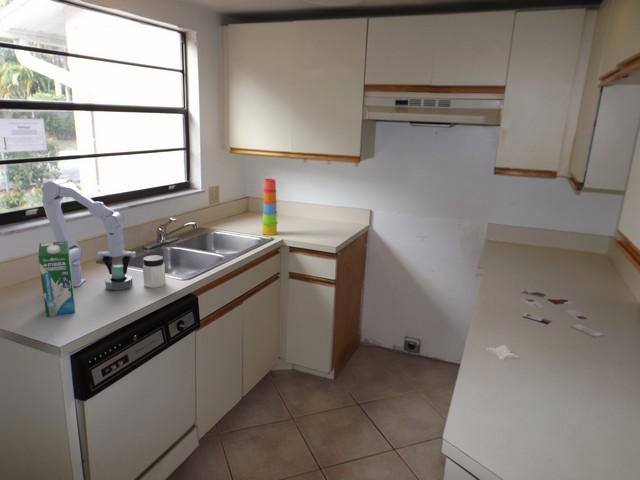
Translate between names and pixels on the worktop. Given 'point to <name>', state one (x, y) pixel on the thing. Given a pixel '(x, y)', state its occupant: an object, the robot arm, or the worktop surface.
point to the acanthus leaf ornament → (502, 352)
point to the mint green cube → (117, 272)
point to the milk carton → (56, 278)
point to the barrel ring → (118, 283)
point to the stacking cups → (269, 208)
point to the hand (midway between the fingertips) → (118, 273)
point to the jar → (153, 271)
